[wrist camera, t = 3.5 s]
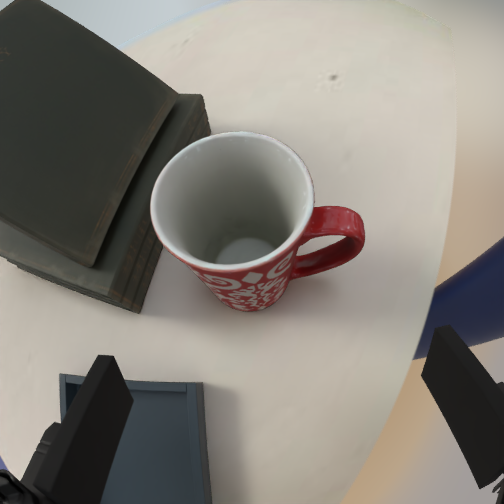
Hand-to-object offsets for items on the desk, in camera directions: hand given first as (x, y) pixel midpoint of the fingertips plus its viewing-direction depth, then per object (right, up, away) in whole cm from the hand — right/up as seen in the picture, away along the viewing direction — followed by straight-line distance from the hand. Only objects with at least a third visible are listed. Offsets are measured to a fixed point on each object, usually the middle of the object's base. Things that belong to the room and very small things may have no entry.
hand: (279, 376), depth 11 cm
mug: (0, +2, +17) cm, 17 cm away
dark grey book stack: (-18, +11, +22) cm, 31 cm away
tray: (-11, -15, +10) cm, 22 cm away
